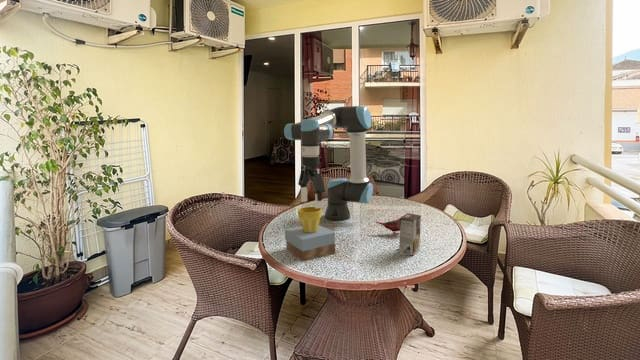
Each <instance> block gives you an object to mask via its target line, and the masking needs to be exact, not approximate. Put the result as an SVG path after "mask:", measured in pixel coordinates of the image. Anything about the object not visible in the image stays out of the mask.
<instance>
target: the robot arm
mask: <svg viewBox="0 0 640 360" xmlns="http://www.w3.org/2000/svg"><path fill="white" fill-rule="evenodd" d="M371 126H372V114H371V112H370V109H369V108H368V107H367V106H362V105H356V106H355V105H354V106H353V105H352V106H337V107H334V108H331V109H328V110H325V111H323V112H322V113H321V114H320V115H317V116H314V117H311V118H309V119H308V118H305V119H302V120H301V121H300V122H296V123H294V122H293V123H287V124H286V125H285V126H284V128H283V133H284V138H286V139H287V140H290V141H301V143H300V144H301V149H300V152H301V156H302V157H301V167H300V174H299V178H298V183H297V184H298V186H300V200H301V203H305V202H308V185H307V184H308V182H309V181H310V180H311V182H312V184H313V187H314V191H315V192H314V196H315V198H314V199H315V201H314V203H315V206H314V207H315V208H316V209H318V208H321V209H322V208H323V193H325V192H326V189H325V186H324V185H325V184H324V180H323V177H322V169H321V168H317V167H318V166H319V165H320V156H319V155H320V142H321V141H324V142H325V141H328V140H330V139H331V138H332V137H333V135H334V129H345V132H346V134H347V135H348V136H349V139H348V140H349V160H350V177H349V179H348V178H346V177H345V178H343V177H342V178H334V179H330V180H328V182H327V205H326V209H325V212H324V218H325V219H326V220H327V221H337V222H340V221H341V222H342V221H347V220H349V219H350V218H351V213H350V209H349V207H348V203H350V202H351V203H358V204H368V203H369V202H370V201H371V199H372V197H373V193H374V185H373V183H371V182H370V178H368V177H367V158H366V157H367V156H366V155H367V153H366V151H367V150H366V134H367V133H368V130H369V129H370V128H371Z"/></svg>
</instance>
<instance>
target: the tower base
mask: <svg viewBox="0 0 640 360" xmlns="http://www.w3.org/2000/svg"><path fill="white" fill-rule="evenodd" d="M285 241H286V240H285ZM286 250H287V251H289V252H290V253H291V254H292V255H294V256H295V257H296V258H298V260H300V261H302V262H305V261H310V260H314V259H318V258H323V257H328V256H331V255H335V254H336V243H335V244H331V245H327V246H323V247H319V248H314V249H310V250H306V251H301V250H300V249H298V248H297V247H295V246H294V245H292V244H291V243H289V242H287V241H286Z"/></svg>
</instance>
